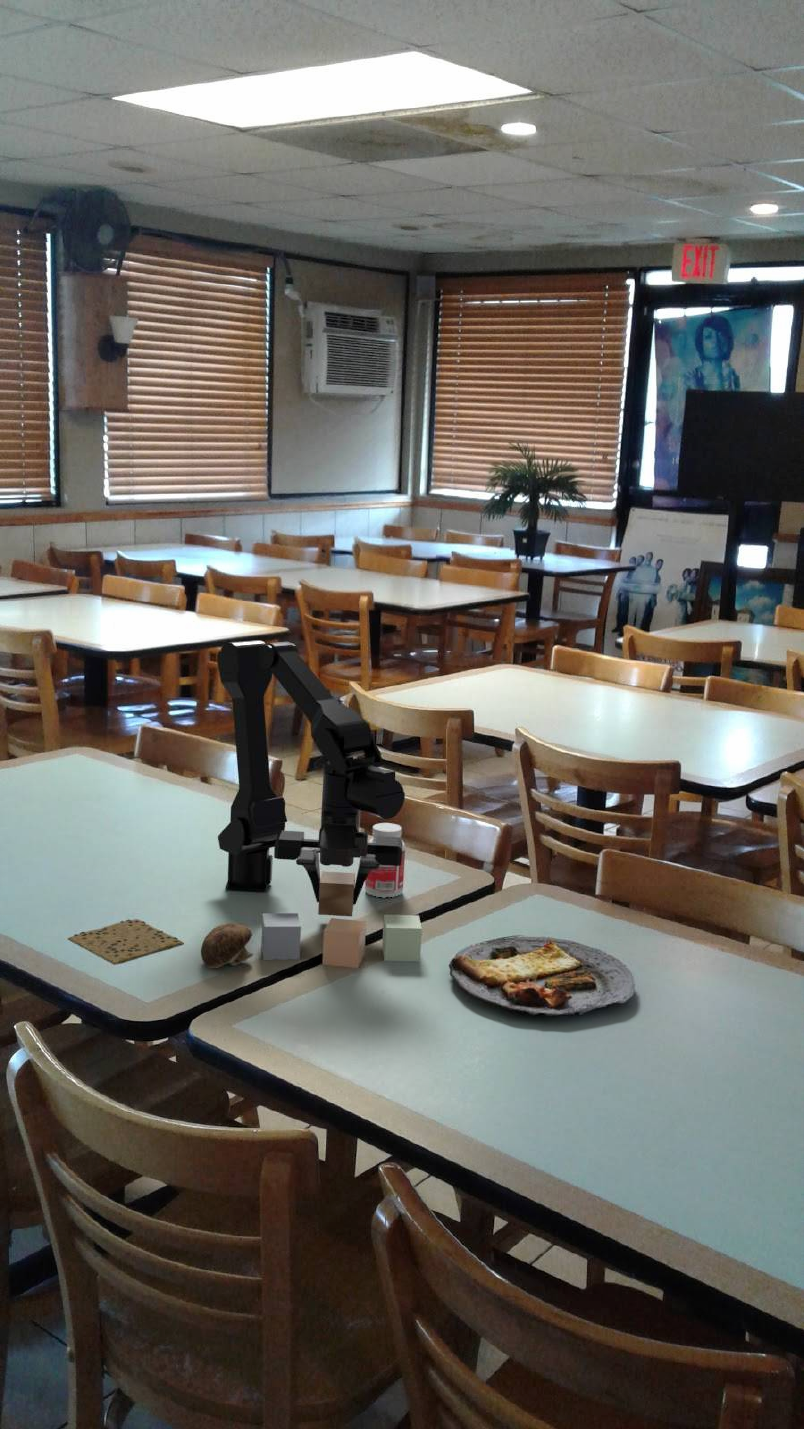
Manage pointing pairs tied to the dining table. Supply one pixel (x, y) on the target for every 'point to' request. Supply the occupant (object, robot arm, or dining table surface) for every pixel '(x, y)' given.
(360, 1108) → the dining table surface
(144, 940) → the cookie
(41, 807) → the dining table surface
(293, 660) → the robot arm
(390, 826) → the pill bottle
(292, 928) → the slate cube
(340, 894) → the walnut cube
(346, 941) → the terracotta cube
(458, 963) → the food plate
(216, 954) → the mushroom
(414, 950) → the sage cube
